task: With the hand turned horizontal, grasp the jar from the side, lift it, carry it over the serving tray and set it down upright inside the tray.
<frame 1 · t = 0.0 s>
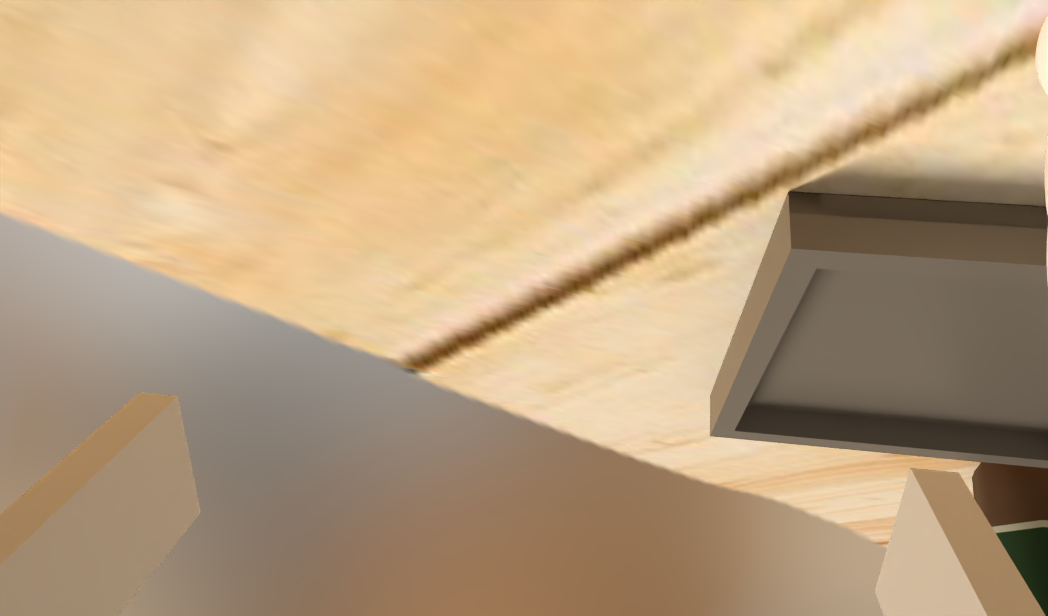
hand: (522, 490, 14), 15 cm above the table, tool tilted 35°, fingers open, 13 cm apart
tray: (953, 333, 37), on the table
beer bottle: (1035, 464, 50), on the table
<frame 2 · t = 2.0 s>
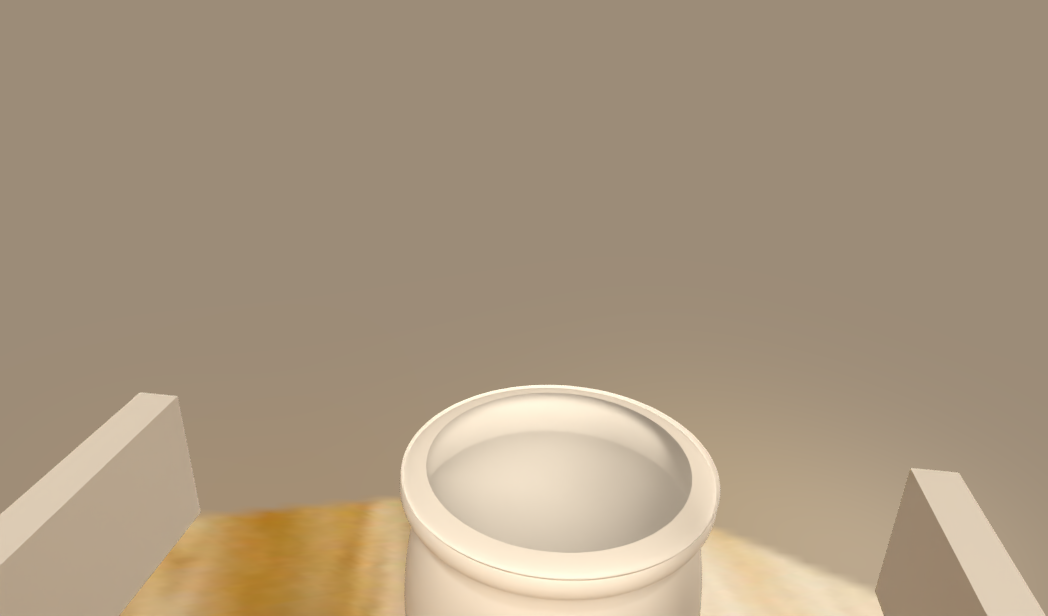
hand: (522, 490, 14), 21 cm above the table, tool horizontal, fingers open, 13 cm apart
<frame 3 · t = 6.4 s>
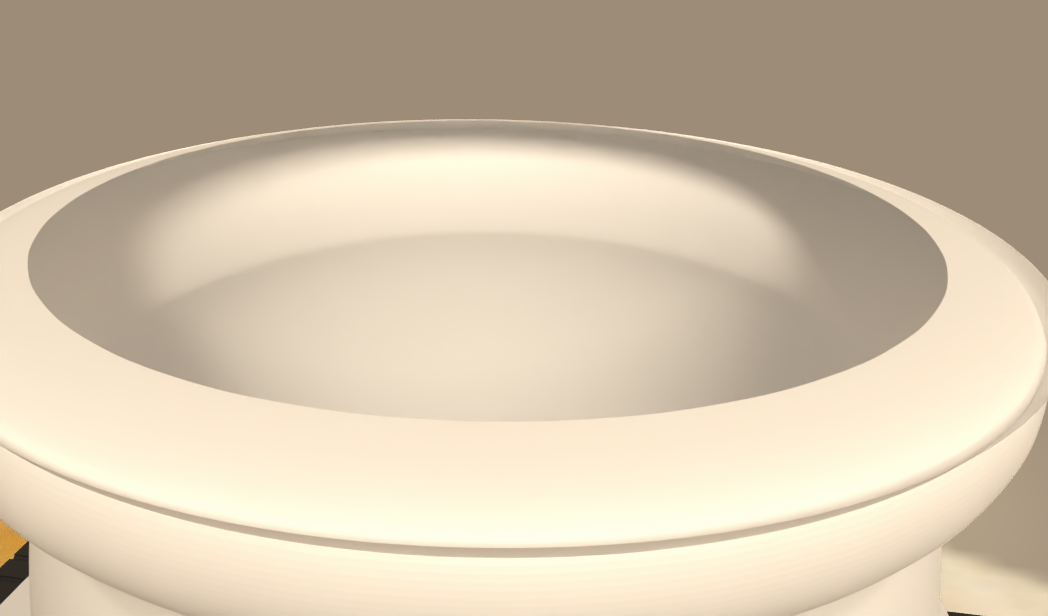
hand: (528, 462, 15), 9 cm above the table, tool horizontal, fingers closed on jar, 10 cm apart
when the fingers open (11 cm above the table, at t = 11.4 s): jar drops 1 cm, resting on tray.
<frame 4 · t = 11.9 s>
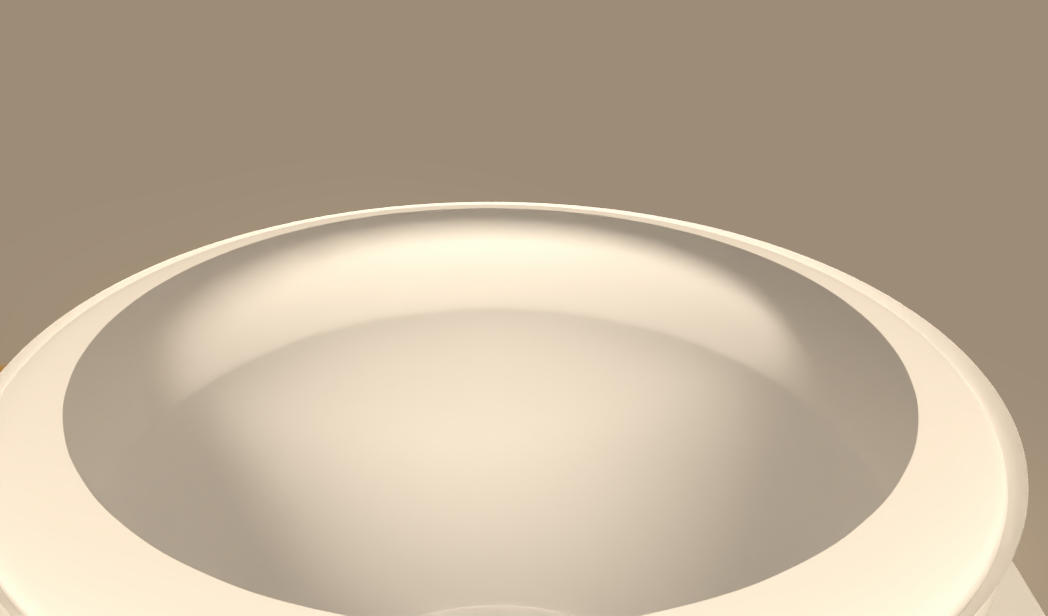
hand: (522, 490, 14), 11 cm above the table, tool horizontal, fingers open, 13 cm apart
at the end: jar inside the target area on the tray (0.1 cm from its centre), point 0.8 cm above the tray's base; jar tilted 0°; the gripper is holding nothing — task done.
